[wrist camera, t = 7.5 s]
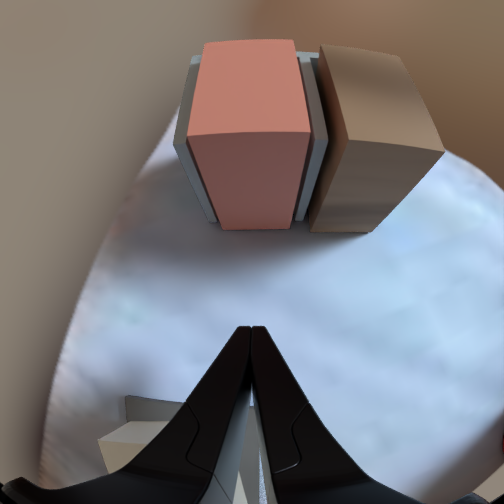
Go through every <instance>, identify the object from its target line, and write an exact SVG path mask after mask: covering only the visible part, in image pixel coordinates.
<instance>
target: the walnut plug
mask: <svg viewBox="0 0 504 504" xmlns="http://www.w3.org/2000/svg"><path fill="white" fill-rule="evenodd" d="M315 80H316V85H317V89H318V93H319V97H320V102H321V106H322V111H323V115H324V120H325V125H326V130H327V135H328V143H327V147H326V150H325V153H324V156H323V160H322V163H321V166H320V169H319V173H318V176H317V179H316V182H315V185H314V188H313V192H312V195H311V198H310V201H309V204H308V212H309V224H310V232H372V231H373V230H374V229H375V228H376V227H377V226H378V225H379V224H380V223H381V222H382V221H383V220H384V219H385V218H386V217H387V216H388V215H389V214H390V213H391V212H392V211H393V209H394V208H395V207H396V206H397V205H398V204H399V203H400V202H401V201H402V200H403V199H404V198H405V197H406V196H407V195H408V193H409V192H410V191H411V190H412V189H413V188H414V187H415V186H416V185H417V184H418V183H419V181H420V180H421V179H422V178H423V177H424V176H425V175H426V174H427V172H428V171H429V170H430V169H431V168H432V167H433V166H434V164H435V163H436V162H437V161H438V160H439V159H440V158H441V156H442V155H443V154H444V153H445V150H444V147H443V145H442V142H441V140H440V137H439V135H438V133H437V130H436V128H435V125H434V123H433V121H432V119H431V116H430V114H429V112H428V110H427V108H426V106H425V104H424V102H423V100H422V98H421V96H420V94H419V92H418V90H417V88H416V86H415V84H414V82H413V80H412V79H411V77H410V75H409V73H408V71H407V70H406V68H405V66H404V65H403V63H402V61H401V60H400V58H399V57H398V56H394V55H390V54H385V53H380V52H375V51H370V50H364V49H358V48H351V47H344V46H336V45H327V44H321V45H320V53H319V58H318V64H317V71H316V77H315Z"/></svg>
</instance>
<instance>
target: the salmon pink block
mask: <svg viewBox="0 0 504 504" xmlns="http://www.w3.org/2000/svg"><path fill="white" fill-rule="evenodd" d="M310 133H311V131H310V124H309V118H308V112H307V107H306V101H305V95H304V90H303V85H302V80H301V75H300V70H299V65H298V60H297V56H296V51H295V47H294V43H293V40H281V39H276V40H275V39H260V40H236V41H221V42H211V43H205V46H204V50H203V55H202V59H201V63H200V68H199V72H198V77H197V82H196V87H195V92H194V97H193V103H192V108H191V114H190V120H189V126H188V132H187V138H188V141H189V143H190V146H191V149H192V151H193V154H194V156H195V159H196V162H197V164H198V167H199V170H200V172H201V175H202V177H203V180H204V183H205V185H206V188H207V190H208V193H209V196H210V198H211V201H212V203H213V206H214V209H215V211H216V214H217V216H218V219H219V221H220V224H221V226H222V229H223V230H253V229H290V224H291V220H292V216H293V211H294V207H295V203H296V198H297V194H298V189H299V185H300V180H301V176H302V171H303V167H304V162H305V157H306V153H307V148H308V143H309V138H310Z"/></svg>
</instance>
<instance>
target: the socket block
mask: <svg viewBox="0 0 504 504" xmlns="http://www.w3.org/2000/svg"><path fill="white" fill-rule="evenodd" d="M296 56H297V60H298V65H299V70H300V75H301V80H302V85H303V90H304V95H305V101H306V107H307V112H308V118H309V124H310V131H311V133H310V138H309V143H308V148H307V153H306V157H305V162H304V167H303V171H302V176H301V180H300V185H299V189H298V194H297V198H296V203H295V207H294V214H295V221H303V219H304V216H305V213H306V210H307V207H308V204H309V201H310V198H311V195H312V192H313V188H314V185H315V182H316V179H317V176H318V173H319V169H320V166H321V163H322V160H323V156H324V153H325V150H326V147H327V143H328V135H327V130H326V125H325V120H324V115H323V111H322V106H321V102H320V97H319V93H318V89H317V85H316V80H315V77H316V71H317V64H318V58H319V53H311V52H296ZM201 59H202V55H199V56H192V60H191V64H190V68H189V72H188V75H187V80H186V84H185V88H184V92H183V96H182V101H181V106H180V110H179V115H178V120H177V125H176V130H175V135H174V141H173V146H174V148H175V150H176V153H177V155H178V157H179V159H180V161H181V163H182V166H183V168H184V170H185V172H186V174H187V176H188V178H189V180H190V183H191V185H192V187H193V189H194V191H195V193H196V195H197V197H198V199H199V202H200V204H201V206H202V208H203V210H204V212H205V214H206V216H207V218H208V220H209V222H217V221H218V216H217V214H216V211H215V209H214V206H213V203H212V201H211V198H210V196H209V193H208V190H207V188H206V185H205V183H204V180H203V177H202V175H201V172H200V170H199V167H198V164H197V162H196V159H195V156H194V154H193V151H192V149H191V146H190V143H189V141H188V138H187V132H188V126H189V120H190V114H191V108H192V103H193V97H194V92H195V87H196V82H197V77H198V72H199V68H200V63H201Z"/></svg>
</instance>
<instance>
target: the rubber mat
mask: <svg viewBox="0 0 504 504" xmlns="http://www.w3.org/2000/svg"><path fill="white" fill-rule="evenodd" d="M182 404H183V403H182V402H173V401H164V400H157V399H150V398H143V397H137V396H131V395H128V396H126V397H125V405H126V418H127V423H128V422H130V421H170V420H171V419H172V418H173V416H174V415H175V414H176V412H177V411H178V410H179V409H180V407H181V406H182ZM239 474H240V477H241V481H242V485H243V489H244V492H245V496H246V500H247V503H248V504H259V440H258V433H257V425H256V418H255V410H254V406H249V412H248V418H247V424H246V430H245V436H244V442H243V448H242V454H241V460H240V466H239Z"/></svg>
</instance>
